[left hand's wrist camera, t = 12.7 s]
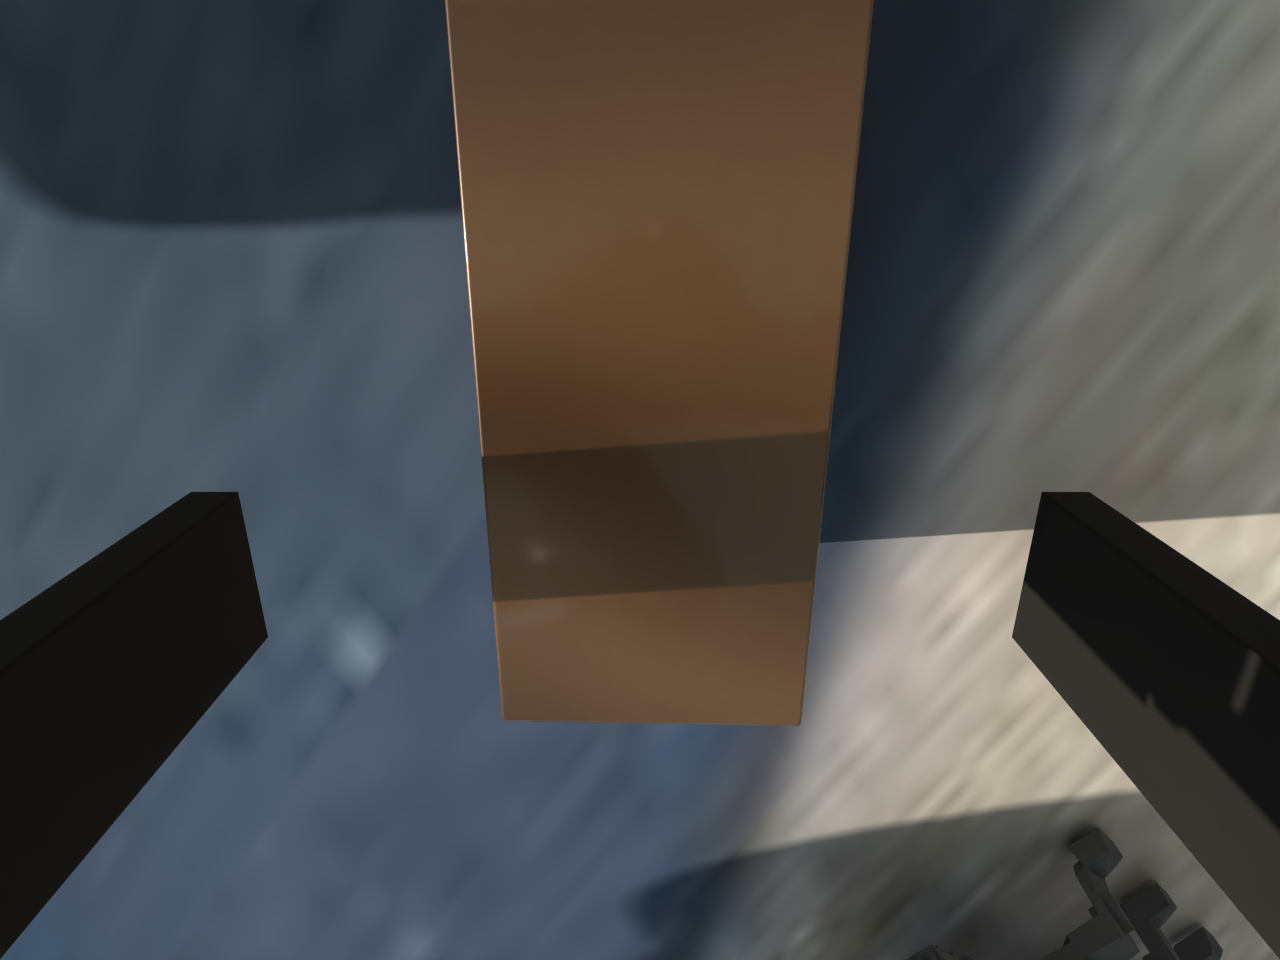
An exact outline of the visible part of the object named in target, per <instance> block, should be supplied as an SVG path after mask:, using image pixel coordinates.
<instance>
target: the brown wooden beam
mask: <svg viewBox="0 0 1280 960" xmlns="http://www.w3.org/2000/svg"><path fill="white" fill-rule="evenodd" d="M873 5H874V0H445V8H446V20H447V33H448V45H449V58H450V70H451V83H452V95H453V108H454V120H455V133H456V145H457V158H458V170H459V183H460V195H461V208H462V220H463V232H464V245H465V257H466V270H467V282H468V295H469V307H470V320H471V332H472V345H473V357H474V370H475V382H476V395H477V407H478V420H479V432H480V444H481V457H482V469H483V482H484V494H485V507H486V519H487V532H488V544H489V557H490V569H491V582H492V594H493V607H494V619H495V632H496V644H497V656H498V669H499V681H500V694H501V706H502V718H503V720H504V721H532V722H597V723H662V724H727V725H792V726H798V725H800V724H801V720H802V710H803V700H804V690H805V680H806V670H807V660H808V650H809V640H810V631H811V621H812V611H813V601H814V591H815V581H816V571H817V561H818V551H819V541H820V531H821V521H822V511H823V502H824V492H825V482H826V472H827V462H828V452H829V442H830V432H831V422H832V412H833V402H834V392H835V383H836V373H837V363H838V353H839V343H840V333H841V323H842V313H843V303H844V293H845V283H846V273H847V263H848V254H849V244H850V234H851V224H852V214H853V204H854V194H855V184H856V174H857V164H858V154H859V144H860V134H861V125H862V115H863V105H864V95H865V85H866V75H867V65H868V55H869V45H870V35H871V25H872V15H873Z"/></svg>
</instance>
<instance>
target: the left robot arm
mask: <svg viewBox="0 0 1280 960" xmlns="http://www.w3.org/2000/svg"><path fill="white" fill-rule="evenodd" d="M267 638H268V635H267V630H266V625H265V620H264V616H263V611H262V606H261V601H260V596H259V591H258V586H257V582H256V577H255V572H254V567H253V562H252V557H251V552H250V548H249V543H248V538H247V533H246V528H245V523H244V519H243V514H242V509H241V504H240V499H239V494H238V492H190V493H189V494H187V495H186V496H184V497H183V498H181V499H180V500H179V501H177V502H176V503H174V504H173V505H171V506H170V507H168V508H167V509H165V510H164V511H162V512H161V513H159V514H158V515H156V516H155V517H153V518H152V519H150V520H149V521H147V522H146V523H144V524H143V525H141V526H140V527H138V528H137V529H135V530H134V531H132V532H131V533H129V534H128V535H127V536H125V537H124V538H122V539H121V540H119V541H118V542H116V543H115V544H113V545H112V546H110V547H109V548H107V549H106V550H104V551H103V552H101V553H100V554H98V555H97V556H95V557H94V558H92V559H91V560H89V561H88V562H86V563H85V564H83V565H82V566H80V567H79V568H78V569H76V570H75V571H73V572H72V573H70V574H69V575H67V576H66V577H64V578H63V579H61V580H60V581H58V582H57V583H55V584H54V585H52V586H51V587H49V588H48V589H46V590H45V591H43V592H42V593H40V594H39V595H37V596H36V597H34V598H33V599H31V600H30V601H29V602H27V603H26V604H24V605H23V606H21V607H20V608H18V609H17V610H15V611H14V612H12V613H11V614H9V615H8V616H6V617H5V618H3V619H2V620H0V959H1V957H2V956H3V955H4V954H5V953H6V951H7V950H8V949H9V948H10V946H11V945H12V944H13V943H14V942H15V940H16V939H17V938H18V937H19V936H20V934H21V933H22V932H23V931H24V930H25V928H26V927H27V926H28V925H29V924H30V922H31V921H32V920H33V919H34V918H35V916H36V915H37V914H38V913H39V912H40V910H41V909H42V908H43V907H44V906H45V904H46V903H47V902H48V901H49V900H50V898H51V897H52V896H53V895H54V894H55V892H56V891H57V890H58V889H59V888H60V886H61V885H62V884H63V883H64V882H65V880H66V879H67V878H68V877H69V876H70V874H71V873H72V872H73V871H74V870H75V868H76V867H77V866H78V865H79V864H80V862H81V861H82V860H83V859H84V858H85V856H86V855H87V854H88V853H89V852H90V850H91V849H92V848H93V847H94V846H95V844H96V843H97V842H98V841H99V840H100V838H101V837H102V836H103V835H104V833H105V832H106V831H107V830H108V829H109V827H110V826H111V825H112V824H113V823H114V821H115V820H116V819H117V818H118V817H119V815H120V814H121V813H122V812H123V811H124V809H125V808H126V807H127V806H128V805H129V803H130V802H131V801H132V800H133V799H134V797H135V796H136V795H137V794H138V793H139V791H140V790H141V789H142V788H143V787H144V785H145V784H146V783H147V782H148V781H149V779H150V778H151V777H152V776H153V775H154V773H155V772H156V771H157V770H158V769H159V767H160V766H161V765H162V764H163V763H164V761H165V760H166V759H167V758H168V757H169V755H170V754H171V753H172V752H173V751H174V749H175V748H176V747H177V746H178V745H179V743H180V742H181V741H182V740H183V739H184V737H185V736H186V735H187V734H188V733H189V731H190V730H191V729H192V728H193V726H194V725H195V724H196V723H197V722H198V720H199V719H200V718H201V717H202V716H203V714H204V713H205V712H206V711H207V710H208V708H209V707H210V706H211V705H212V704H213V702H214V701H215V700H216V699H217V698H218V696H219V695H220V694H221V693H222V692H223V690H224V689H225V688H226V687H227V686H228V684H229V683H230V682H231V681H232V680H233V678H234V677H235V676H236V675H237V674H238V672H239V671H240V670H241V669H242V668H243V666H244V665H245V664H246V663H247V662H248V660H249V659H250V658H251V657H252V656H253V654H254V653H255V652H256V651H257V650H258V648H259V647H260V646H261V645H262V644H263V642H264V641H265V640H266V639H267ZM1012 638H1013V639H1014V640H1015V641H1016V642H1017V644H1018V645H1019V646H1020V647H1021V648H1022V650H1023V651H1024V652H1025V653H1026V654H1027V656H1028V657H1029V658H1030V659H1031V660H1032V662H1033V663H1034V664H1035V665H1036V666H1037V668H1038V669H1039V670H1040V671H1041V672H1042V674H1043V675H1044V676H1045V677H1046V678H1047V680H1048V681H1049V682H1050V683H1051V684H1052V686H1053V687H1054V688H1055V689H1056V690H1057V692H1058V693H1059V694H1060V695H1061V696H1062V698H1063V699H1064V700H1065V701H1066V702H1067V704H1068V705H1069V706H1070V707H1071V708H1072V710H1073V711H1074V712H1075V713H1076V714H1077V716H1078V717H1079V718H1080V719H1081V720H1082V722H1083V723H1084V724H1085V725H1086V727H1087V728H1088V729H1089V730H1090V731H1091V733H1092V734H1093V735H1094V736H1095V737H1096V739H1097V740H1098V741H1099V742H1100V743H1101V745H1102V746H1103V747H1104V748H1105V749H1106V751H1107V752H1108V753H1109V754H1110V755H1111V757H1112V758H1113V759H1114V760H1115V761H1116V763H1117V764H1118V765H1119V766H1120V767H1121V769H1122V770H1123V771H1124V772H1125V773H1126V775H1127V776H1128V777H1129V778H1130V779H1131V781H1132V782H1133V783H1134V784H1135V785H1136V787H1137V788H1138V789H1139V790H1140V791H1141V793H1142V794H1143V795H1144V796H1145V797H1146V799H1147V800H1148V801H1149V802H1150V803H1151V805H1152V806H1153V807H1154V808H1155V809H1156V811H1157V812H1158V813H1159V814H1160V815H1161V817H1162V818H1163V819H1164V820H1165V821H1166V823H1167V824H1168V825H1169V826H1170V827H1171V829H1172V830H1173V831H1174V832H1175V833H1176V835H1177V836H1178V837H1179V838H1180V840H1181V841H1182V842H1183V843H1184V844H1185V846H1186V847H1187V848H1188V849H1189V850H1190V852H1191V853H1192V854H1193V855H1194V856H1195V858H1196V859H1197V860H1198V861H1199V862H1200V864H1201V865H1202V866H1203V867H1204V868H1205V870H1206V871H1207V872H1208V873H1209V874H1210V876H1211V877H1212V878H1213V879H1214V880H1215V882H1216V883H1217V884H1218V885H1219V886H1220V888H1221V889H1222V890H1223V891H1224V892H1225V894H1226V895H1227V896H1228V897H1229V898H1230V900H1231V901H1232V902H1233V903H1234V904H1235V906H1236V907H1237V908H1238V909H1239V910H1240V912H1241V913H1242V914H1243V915H1244V916H1245V918H1246V919H1247V920H1248V921H1249V922H1250V924H1251V925H1252V926H1253V927H1254V928H1255V930H1256V931H1257V932H1258V933H1259V934H1260V936H1261V937H1262V938H1263V939H1264V940H1265V942H1266V943H1267V944H1268V945H1269V946H1270V948H1271V949H1272V950H1273V951H1274V953H1275V954H1276V955H1277V956H1278V957H1279V959H1280V620H1278V619H1277V618H1275V617H1274V616H1272V615H1271V614H1269V613H1268V612H1266V611H1265V610H1263V609H1262V608H1260V607H1259V606H1257V605H1256V604H1254V603H1253V602H1251V601H1250V600H1249V599H1247V598H1246V597H1244V596H1243V595H1241V594H1240V593H1238V592H1237V591H1235V590H1234V589H1232V588H1231V587H1229V586H1228V585H1226V584H1225V583H1223V582H1222V581H1220V580H1219V579H1217V578H1216V577H1214V576H1213V575H1211V574H1210V573H1208V572H1207V571H1205V570H1204V569H1202V568H1201V567H1200V566H1198V565H1197V564H1195V563H1194V562H1192V561H1191V560H1189V559H1188V558H1186V557H1185V556H1183V555H1182V554H1180V553H1179V552H1177V551H1176V550H1174V549H1173V548H1171V547H1170V546H1168V545H1167V544H1165V543H1164V542H1162V541H1161V540H1159V539H1158V538H1156V537H1155V536H1153V535H1152V534H1151V533H1149V532H1148V531H1146V530H1145V529H1143V528H1142V527H1140V526H1139V525H1137V524H1136V523H1134V522H1133V521H1131V520H1130V519H1128V518H1127V517H1125V516H1124V515H1122V514H1121V513H1119V512H1118V511H1116V510H1115V509H1113V508H1112V507H1110V506H1109V505H1107V504H1106V503H1104V502H1103V501H1101V500H1100V499H1099V498H1097V497H1096V496H1094V495H1093V494H1091V493H1090V492H1042V494H1041V499H1040V504H1039V509H1038V514H1037V519H1036V523H1035V528H1034V533H1033V538H1032V543H1031V548H1030V552H1029V557H1028V562H1027V567H1026V572H1025V577H1024V582H1023V586H1022V591H1021V596H1020V601H1019V606H1018V611H1017V615H1016V620H1015V625H1014V630H1013V635H1012Z"/></svg>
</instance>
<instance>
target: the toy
mask: <svg viewBox="0 0 1280 960" xmlns="http://www.w3.org/2000/svg"><path fill="white" fill-rule="evenodd" d="M1068 848H1069V849H1070V850H1071V851H1072V852H1073V854H1074V855H1075V856H1076V857H1077V858H1078V859H1079V861H1078V862H1077V863H1076V864H1075V865H1074V866H1073V868H1074V871H1075V875H1076V877H1077V879H1078V880H1079V882H1080V884H1081V886H1082V887H1083V889H1084V891H1085V892H1086V894H1087V896H1088V898H1089V899H1090V901H1091V903H1092V905H1093V907H1091V908H1090V909H1088V910H1089V912H1090V914H1091V915H1092V917H1093V918H1092V919H1091V920H1089V921H1088V922H1086V923H1085V924H1083V925H1082V926H1080V927H1078V928H1077V929H1075V930H1074V931H1072V932H1071V933H1069V934H1068V935H1067V937H1066V940H1065V942H1064V945H1063V947H1061V948H1060V949H1058V950H1056V951H1055V952H1053V953H1051V954H1050V955H1048V956H1046V957H1045V958H1043V959H1041V960H1129V959H1130V958H1131V957H1133V956H1134V955H1135V954H1137V953H1138V952H1139V949H1138V948H1137V946H1136V944H1135V943H1134V941H1133V940H1132V938H1131V936H1130V935H1129V932H1131V931H1133V930H1134V929H1135V930H1136V932H1137V933H1138V935H1139V937H1140V938H1141V940H1142V941H1143V943H1144V944H1145V946H1146V947H1147V949H1148V951H1149V952H1150V953H1149V954H1147V955H1146V956H1144V957H1142V958H1143V960H1220V957H1221V955H1222V952H1223V950H1222V948H1221V947H1220V945H1219V944H1218V943H1217V941H1216V940H1215V939H1214V937H1213V936H1212V935H1211V934H1210V933H1209V932H1208V931H1207V930H1206V929H1205V928H1204V927H1203V926H1202V927H1201V928H1199V929H1198V930H1197V931H1195V932H1194V933H1192V934H1191V935H1189V936H1188V937H1186V938H1185V939H1183V940H1182V941H1180V942H1179V943H1177V944H1176V945H1175V946H1174V948H1172V947H1171V945H1170V944H1169V942H1168V941H1167V939H1166V938H1165V936H1164V935H1163V933H1162V932H1161V930H1160V929H1159V928H1160V927H1161V926H1162V925H1163V924H1164V923H1165V922H1166V920H1167V919H1168V918H1169V917H1170V916H1171V915H1172V914H1173V912H1174V911H1175V909H1176V908H1177V907H1176V905H1175V904H1174V902H1173V901H1172V900H1171V898H1170V897H1169V895H1168V894H1167V893H1166V891H1165V890H1163V889H1162V888H1161V887H1160V886H1159V885H1158V884H1157V883H1156V884H1154V885H1152V886H1151V887H1149V888H1147V889H1145V890H1144V891H1142V892H1140V893H1139V894H1137V895H1135V896H1133V897H1132V898H1130V899H1128V900H1126V901H1125V902H1123V903H1121V904H1120V907H1121V908H1122V910H1123V911H1124V913H1125V915H1126V916H1127V918H1128V919H1129V921H1130V922H1131V924H1132V926H1133V927H1134V929H1133V927H1132V926H1131V924H1130V923H1129V921H1128V920H1127V918H1126V917H1125V915H1124V914H1123V912H1122V911H1121V910H1120V908H1119V907H1118V905H1117V904H1116V902H1115V901H1114V899H1113V898H1112V896H1111V895H1110V893H1109V892H1108V888H1107V885H1106V881H1105V877H1106V876H1107V875H1108V874H1109V873H1110V872H1111V871H1112V870H1113V869H1114V868H1115V867H1116V866H1117V865H1118V863H1119V862H1120V860H1121V859H1122V857H1123V856H1122V854H1121V853H1120V852H1119V850H1118V849H1117V847H1116V846H1115V844H1114V843H1113V842H1112V841H1111V840H1110V839H1109V838H1108V837H1107V836H1106V835H1105V834H1104V833H1103V832H1102V831H1101V830H1100V829H1099V828H1096V829H1095V830H1093V831H1092V832H1090V833H1088V834H1087V835H1085V836H1084V837H1082V838H1080V839H1079V840H1077V841H1075V842H1074V843H1072V844H1071V845H1069V846H1068ZM906 960H973V959H971V958H969V957H967V956H964V957H962V958H961V957H960V956H958V955H957V954H955V953H954V952H953V951H950V952H948V953H946V952H945V951H944V950H942V949H941V948H940V947H938V946H937V945H936V946H933V945H930V946H928V947H927V948H925V949H923V950H922V951H920V952H918V953H917V954H915V955H913V956H912V957H910V958H908V959H906Z"/></svg>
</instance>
